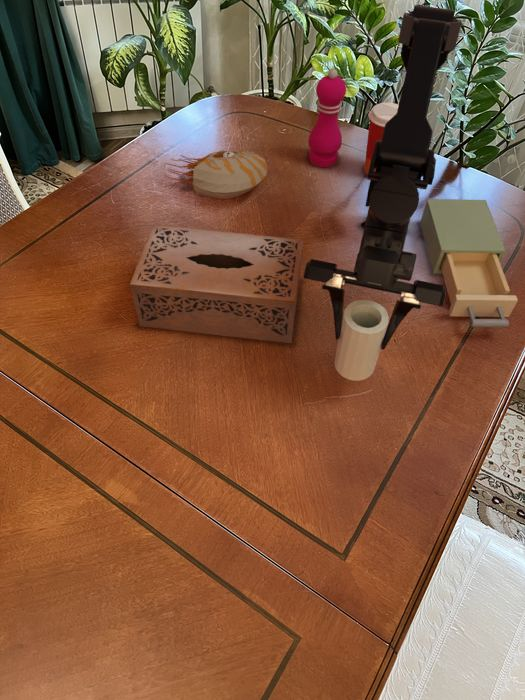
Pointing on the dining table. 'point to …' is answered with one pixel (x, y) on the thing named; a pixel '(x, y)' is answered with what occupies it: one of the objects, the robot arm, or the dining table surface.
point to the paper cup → (377, 127)
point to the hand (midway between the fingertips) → (359, 344)
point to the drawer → (477, 288)
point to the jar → (360, 339)
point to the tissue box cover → (218, 283)
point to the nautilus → (224, 173)
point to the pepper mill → (327, 121)
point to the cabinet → (458, 229)
